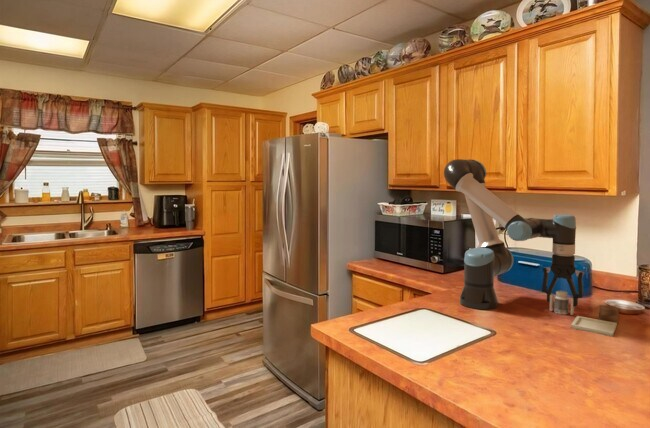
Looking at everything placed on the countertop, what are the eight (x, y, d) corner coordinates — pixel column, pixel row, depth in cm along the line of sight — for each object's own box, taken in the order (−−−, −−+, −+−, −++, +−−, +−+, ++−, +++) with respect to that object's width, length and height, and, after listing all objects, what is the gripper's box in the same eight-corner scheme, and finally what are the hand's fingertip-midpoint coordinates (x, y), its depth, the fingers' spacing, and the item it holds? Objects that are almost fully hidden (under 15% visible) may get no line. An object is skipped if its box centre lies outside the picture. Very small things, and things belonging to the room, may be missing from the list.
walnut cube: (601, 322, 142) (601, 308, 142) (598, 317, 146) (599, 304, 146) (618, 324, 140) (618, 310, 139) (615, 319, 144) (615, 306, 144)
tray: (570, 328, 136) (570, 324, 136) (577, 318, 145) (577, 315, 145) (612, 336, 128) (613, 333, 128) (616, 326, 137) (617, 322, 137)
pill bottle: (570, 315, 149) (570, 293, 149) (556, 314, 150) (557, 293, 150) (565, 311, 154) (565, 290, 153) (552, 310, 155) (552, 290, 154)
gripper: (533, 253, 154) (531, 309, 156) (591, 258, 141) (589, 320, 143) (538, 250, 160) (536, 304, 161) (595, 255, 147) (592, 314, 148)
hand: (561, 312), depth 152 cm, fingers open, 6 cm apart
